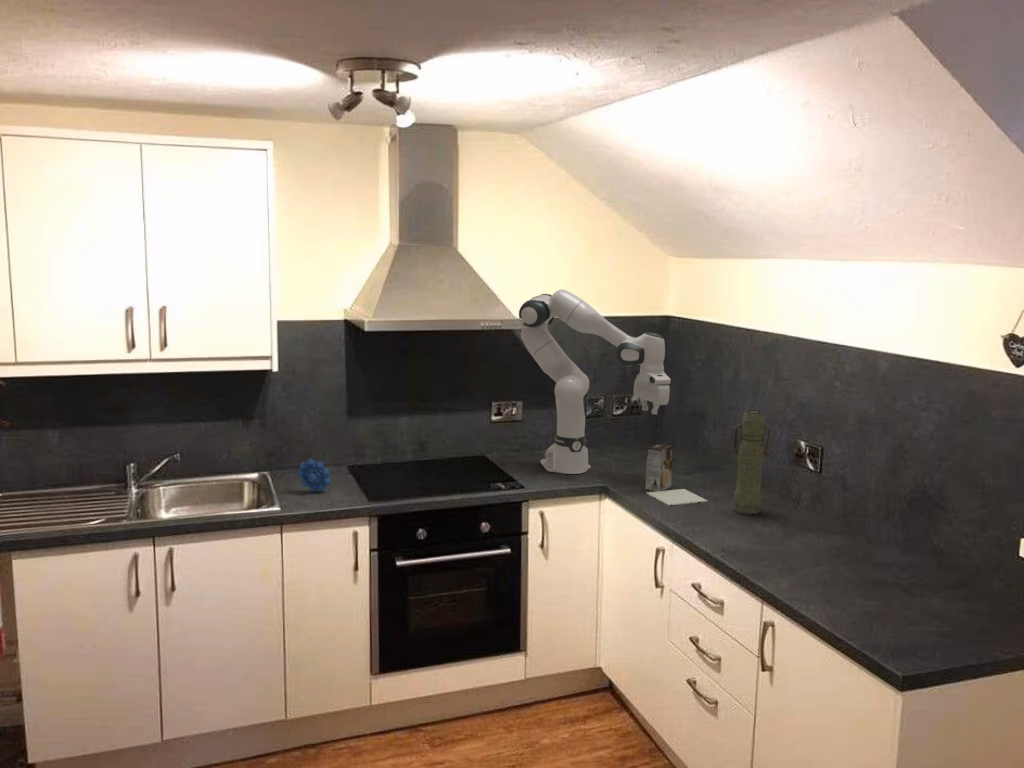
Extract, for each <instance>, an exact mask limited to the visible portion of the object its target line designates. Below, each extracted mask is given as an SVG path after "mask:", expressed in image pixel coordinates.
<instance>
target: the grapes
mask: <svg viewBox="0 0 1024 768" xmlns="http://www.w3.org/2000/svg"><path fill="white" fill-rule="evenodd" d="M324 465H325V464H324V463H323V462H322V461H319V460H317V461H316V462H315V460H314V459H313V458H308V459H307V460H306V462H304V461H302V462H301V463H299V468H300V469H299V470H298V471H297V476H298V478H300V479H301V485H302V486H303V487H305V488H308V487H309V488H308V489H309V491H310V492H313V493H314V492H315V493H316V492H317V491H320V492H325V491H326V489H327V486H329V485H331V479H330V477H329V476H330V475H331V474H330V473H331V472H330V469H328V468H325V466H324Z"/></svg>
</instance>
